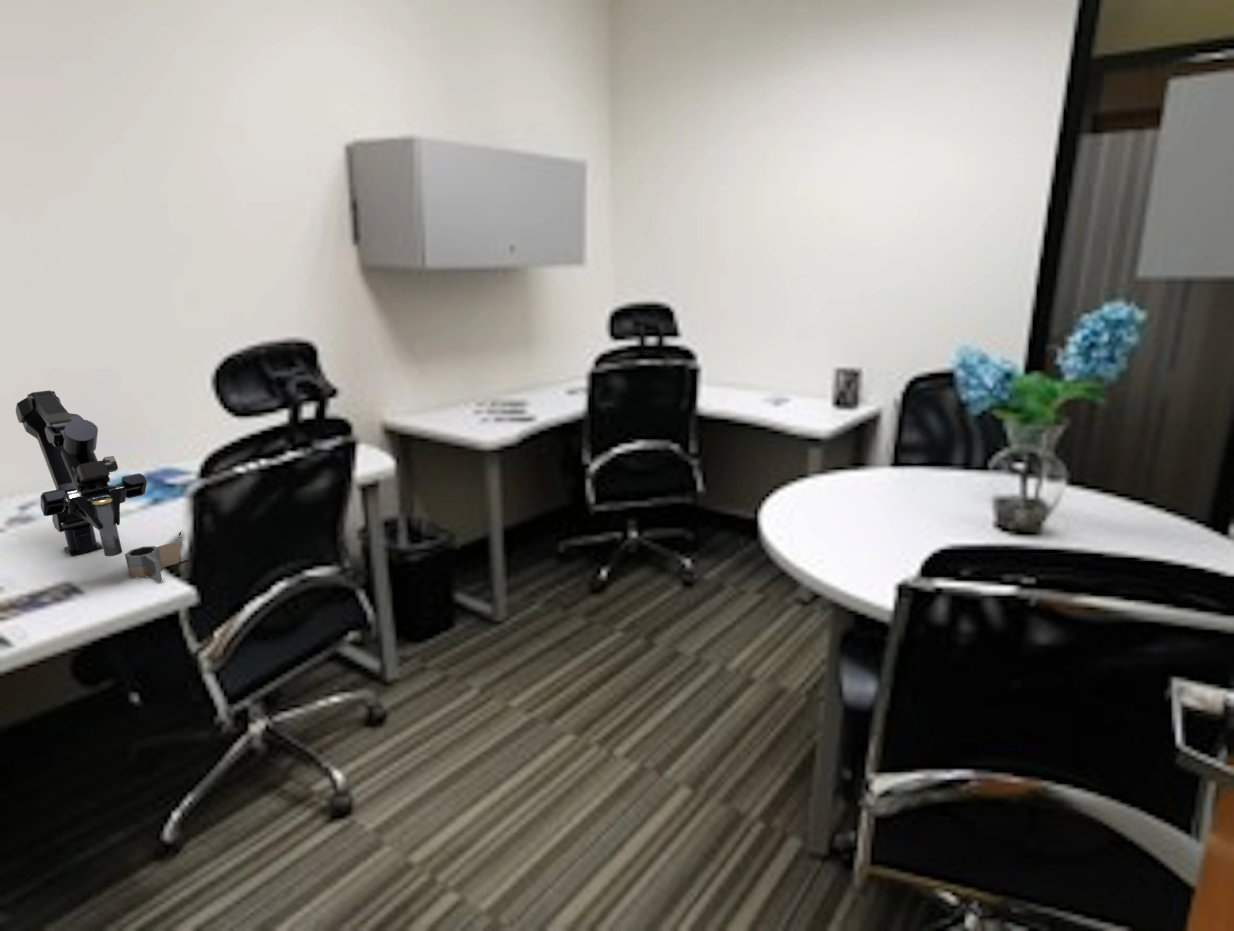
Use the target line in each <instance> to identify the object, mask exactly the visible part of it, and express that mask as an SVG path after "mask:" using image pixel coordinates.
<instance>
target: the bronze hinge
mask: <svg viewBox="0 0 1234 931" xmlns="http://www.w3.org/2000/svg"><path fill="white" fill-rule="evenodd" d="M183 540H184V539H181V540H177V541H173V542H169V543H166V544H163V545H159V546H151V545H150V546H146V545H145V546H141V547H137V548H133V549H130V550H129V551H127V552H126V553H125V554H124V556H125V558H124V559H125V561H126V567H127V570H128V576H130V577H131V576H132V577H131V578H132V579H136V578H135V577H144V578H147V577H146V576H148V577H150V579H152V578H153V579H152V580H154V581H155V580H156V581H157V582H156V581H155V582H156V583H158V582H161V581H162V582H163V578H162V574H161V572H162V570H164V568H166V567H170V566H172V565H177V564H180V563H179V555H180V549H181V546H182V541H183ZM162 582H161V583H162Z"/></svg>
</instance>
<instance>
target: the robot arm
mask: <svg viewBox="0 0 1234 931" xmlns="http://www.w3.org/2000/svg"><path fill="white" fill-rule="evenodd" d="M15 414H16V418H17V421H18V423H19V424H22V425H23V428H24V431H25V432H26V433H28V434H29V435H30V436H32V437H34V439H36V440H37V442H38V444H39V448H40V451H41V452H42V455H43V458H44V461H45V463H46V466H47V468H48V472H49V473H50V476H51V478H52V482H53V484H54V486H55V489H54V490H48V491H44V492H42V493H41V495H40V509H41V512H42V515H43V516H45V517H49V516H52V518H51V519H52V524H53V526H54V527H53V528H54V529H55V530H56V531H57V532H59V533H62V532H64V536H65V540H66V544H67V546H64V547H63V550H64V551H65V552H66V553H67V554H69V555H70V556H72V557H73V556H74V557H75V556H77V555H80V554H81V555H82V554H85V553H87V552H93V551H97V550H99V549H103V546H102V543H101V544H100V543H99V541H97V538H96V537H97V536H96V533H95V530H94V528H95V529H96V530H98V531H99V530H100V528H101V527H100V524H99V522H98V520H97V518H96V515H95V510H94V506H93V505H92V504H91V500H92V499H95V498H99V497H105V496H110V497H112V499H113V501H112V507H113V511H114V516H115V521H116V525H117V526H120V524H121V523H120V522H121V506H120V505H121V504H122V503H123V504H124V503H125V502H126V499H131V498H137V497H141V496H143V495H145V493H146V488H147V483H148V481H147V480H146V479H147V478H146V477H145V475H143V474H141V473H133V474H129V475H123V476H122V477H121V483H116V484H110V485H109V483H110V480H111V478H110V474H111V473H114V472H117V471H118V470H119V466H118V463H117V461H116V458H115V456H114V455H109V456H104V457H103V458H102V460H98V458H97V455H96V452H95V451H96V449H97V443H98V432H99V428H98V426H97V425H96V424H95V423H94V422H92V421H91V420H88V419H84V418H83V417H82V416H81V415H79V414H77V413H71V412H70V413H69V411H68V410H67V409H66V408H65V406H64V405H63V404H62V402H61V400H60V397H59V396H57V394H56V392H55V391H54V390H50V389H49V390H42V391H34V392H33V391H31V393H27V396H26V397H24V398H23V399H22V400H20V401H19V402H17V403H16V406H15Z"/></svg>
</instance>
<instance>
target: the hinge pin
mask: <svg viewBox="0 0 1234 931" xmlns="http://www.w3.org/2000/svg"><path fill="white" fill-rule="evenodd" d="M112 501H113V499H112V497H110V496H109V495H106V496H102V497H97V498H93V499H92V500H91V504H92V505H93V506H94V510H95V515H96V518H97V520H98V522H99V524H100V527H101V528H100V530H98V532H99V536H100V540H101V545H102V547H103V548H102V549H103V553H104V554H103V555H104V556H105V557H115V556H118V555H121V554H123V549H122V543H121V541H120V535H119V531H118V525H117V524H116V521H115V516H114V511H113V507H112Z"/></svg>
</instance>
